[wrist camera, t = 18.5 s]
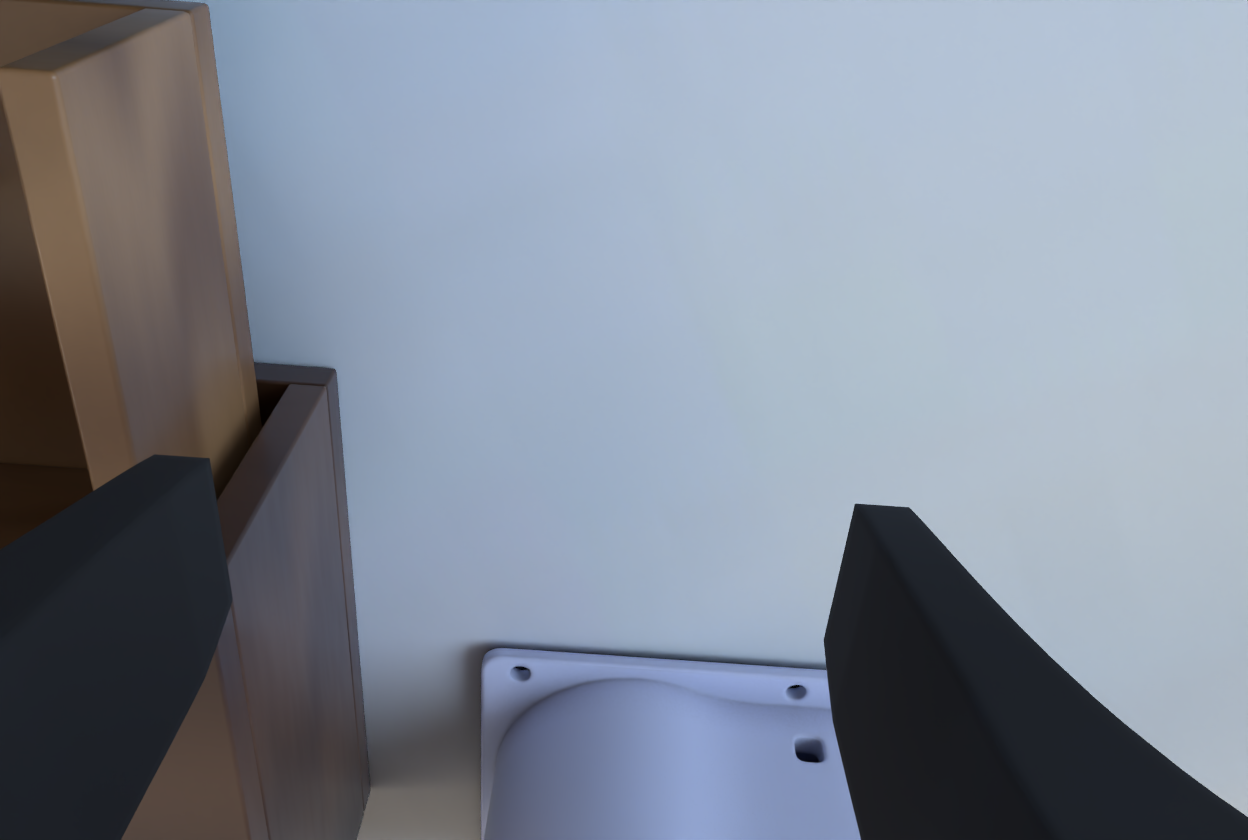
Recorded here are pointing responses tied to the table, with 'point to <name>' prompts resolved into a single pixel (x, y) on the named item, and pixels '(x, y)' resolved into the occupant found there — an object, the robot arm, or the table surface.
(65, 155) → the drawer
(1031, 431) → the table surface
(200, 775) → the cabinet
